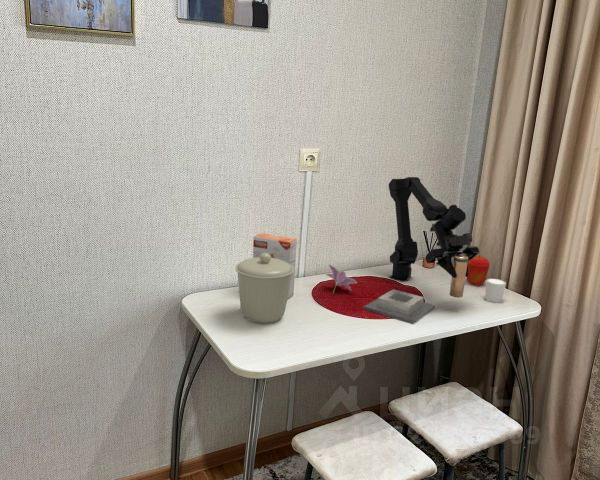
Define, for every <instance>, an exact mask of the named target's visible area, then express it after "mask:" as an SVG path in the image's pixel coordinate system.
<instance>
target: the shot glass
mask: <svg viewBox="0 0 600 480" xmlns="http://www.w3.org/2000/svg"><path fill="white" fill-rule="evenodd" d="M506 286H507V282H506V281H504V280H502V279H498V278H486V280H485V297H484V298H485V299H484V300H486V301H488V302H490V301H491V303H501V302H502V301H503V297H504V293H505V289H506Z"/></svg>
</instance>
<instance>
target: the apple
mask: <svg viewBox="0 0 600 480" xmlns="http://www.w3.org/2000/svg"><path fill="white" fill-rule="evenodd" d="M489 268H490V261H489V260H488V259H487V257H483V256H482V255H481V254H478V256H477V255H476V256H475V257H474V258H473V259H471V260H469V261H468V277H466V281H468V283H469V284H472V285H473V286H481V285H483V284H484V283H486V280H487V275H488V272H489Z"/></svg>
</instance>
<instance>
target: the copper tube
mask: <svg viewBox="0 0 600 480" xmlns="http://www.w3.org/2000/svg"><path fill="white" fill-rule="evenodd" d="M467 263H468V256H467V255H464V254H455V256H454V257H453V263H452V264H453V267H454V270H455V272H456V276H457V277H456V278H453V277H452V276H451V280H450V287H449V288H450V289H449V296H450V297H452V298H463V297H464V289H465V285H466V284H465V282H466V278H467V277H466V270H467Z"/></svg>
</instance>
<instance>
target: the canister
mask: <svg viewBox="0 0 600 480" xmlns="http://www.w3.org/2000/svg"><path fill="white" fill-rule="evenodd" d="M234 268H235V271H236V272H237V282H238V293H239V294H238V295H239V304H240V311H241V314H242V316H243V317H244V318H245V320H247V321H250V322H253V323H256V324H257V323H258V324H271V323H275V322H277V321H280V320H281V319H282V318H283V316H284V315H285V312H286V307H287V304H288V300H287V298H288V293H289V286H290V281H291V274H292V273H293V272H294V268H293V266H291V265H290V264H288V263H287V262H285V261H283V260H280V259H276V258H271V256H270V254H268V253H262V254H261V255H260V257H256V258H253V257H249V258H246V259H244V260H242V261H240V262H238V263H237V264H236V265H235V267H234Z"/></svg>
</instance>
